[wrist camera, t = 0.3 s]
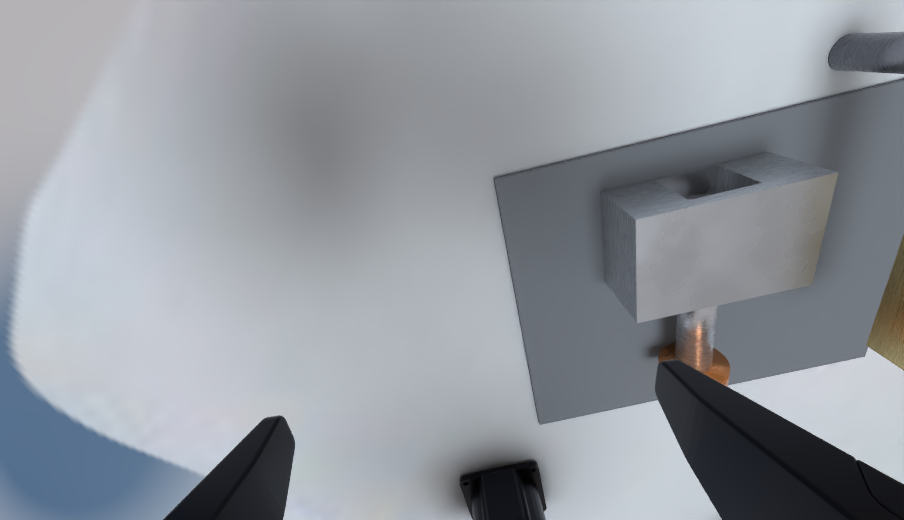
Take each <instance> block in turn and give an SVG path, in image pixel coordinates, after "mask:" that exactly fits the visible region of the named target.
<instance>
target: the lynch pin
mask: <svg viewBox="0 0 904 520" xmlns="http://www.w3.org/2000/svg"><path fill="white" fill-rule="evenodd" d="M709 195H713V194H696V195H692V196H689V197H686V199H687V200H691V199H696V198H700V197H704V196H709ZM717 310H718V306H714V307H709V308H704V309H700V310H695V311H691V312H686V313H682V314H677V324H676V342H674V343H671V344H668V345H667V346H665V347H664V348H663V349H662V350H661V351H660V353H659V356H658V364H659V362H661V361H666V360H673V359H677V360H680V361H682V362H684V363H685V364H687V365H689V366H691V367H693V368H694V369H696V370H698V371H700V372H702V373H703V374H705V375H707V376H709V377H711V378H712V379H714V380H716V381H718V382H720V383H721V384H723V385H725V386H727V387H728V382H729V375H730V364H729V362H728V360H727V358H726V357H725V356H724V355H723V354H722V353H721V352H719V351H718V350H716V349H715V348H714V338H715V329H716V320H717Z"/></svg>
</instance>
